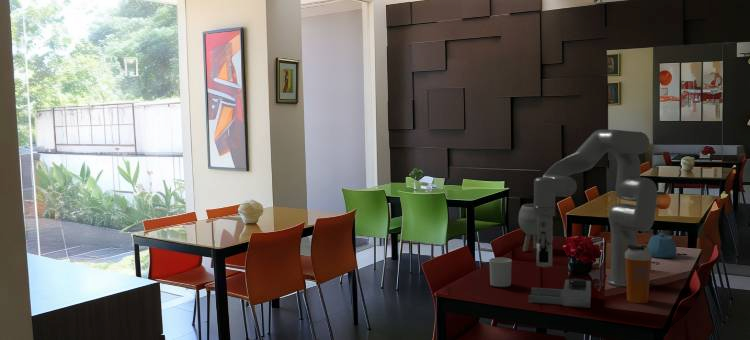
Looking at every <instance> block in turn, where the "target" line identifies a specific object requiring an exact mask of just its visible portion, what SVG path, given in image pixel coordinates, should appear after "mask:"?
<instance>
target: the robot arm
mask: <svg viewBox="0 0 750 340" xmlns="http://www.w3.org/2000/svg"><path fill="white" fill-rule="evenodd" d="M649 147H650V138H649V137H648V135H647V134H646V133H645V132H642V131H635V130H633V131H632V130H631V131H630V130H621V129H597V130H595V131H593V132H592V133H591V135H590V136H588V138H586V140H585V141H584V142H583V143H582V144H581V145H580V146H579V147H578V148H577V150H576V151H575V152H573V153H572V154H570V155H567V156H566V157H564V158H562V159H561V160H558V161H557V162H555V163H554V164H553V165H551V166H550V167H549V168H548V169H547V170H546V172H544V174H543V175H542V176H541V177H535V178H534V180H533V204H534V215H535V216H537V238H538V243H540V251H539V262H545V263H548V243H550V244H551V243H552V244H553V241H554V228H553V227H554V226H553V224H554V223H553V222H554V220H553V217H555V216H556V197H564V198H565V197H571V196H573V195H574V194H575V193H576V191H577V189H578V188H577V187H578V184H577V182H576V180H575V178H572V177H571V176H572V175H575V174H578V173H583V172H586V171H589V170H591V169H592V168H593V167H594V166H596V164H597V163H598V162H599V161H600V160H601V159H602V157H603V156H604V155H605V154H607V153H612V154H613V156H614V157H615V159H616V165H617V169H616V170H617V171H616V180H615V195H616V197H617V198H618V199H620V200H623V201H629V202H635V204H630V203H629V204H628V203H624V202H623V203H622V202H621V203H620V202H619V203H615V204H613V205H612V206H611V207H610V208H609V211H608V222H609V228H610V276H609V277H606V283H607V284H610V285H613V286H617V287H626V288H627V284H626V260H625V252H626V251H627V250H628V247H627V246H628V245H636V246H638V240H637V239H638V238H637V235H636V231H637V232H638V231H639V232H646V231H649V230H651V228H652V227H653V224H654V223H655V216H656V209H657V197H658V187H657V185H656V184H655V182H654V181H653V179H650V178H648V177H641V169H642V167H641V166H642V165H641V160H640V158H639V156H638V155H642V154H644V153H646V152H647V151H648V150H649ZM546 241H547V243H545V242H546Z"/></svg>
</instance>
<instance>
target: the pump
mask: <svg viewBox="0 0 750 340" xmlns="http://www.w3.org/2000/svg"><path fill="white" fill-rule="evenodd" d="M545 243H547V241H546V242H545ZM539 251H540V243H537V247H534V246H533V247H532V250H531V253H535V255H536V256H535V257H536V261H535V262H536V266H537V267H540V268H550V267H553V242H552V243H551V244H550V243H548V263H545V262H539Z"/></svg>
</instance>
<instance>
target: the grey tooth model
mask: <svg viewBox="0 0 750 340" xmlns="http://www.w3.org/2000/svg"><path fill="white" fill-rule="evenodd" d="M517 218H518V225H519V227H520V229H521V230H522V231H523V233H524V234H525V237H524V243H523V246H522V251H523V252H527V251H528V249H529V245H530V242H531V238H532V239H533V240H532V241H533V247H537V243H538V238H537V216H535V215H534V203H525V204H522V205H521V207H520V209H519V212H518V217H517Z"/></svg>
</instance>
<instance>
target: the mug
mask: <svg viewBox="0 0 750 340" xmlns="http://www.w3.org/2000/svg"><path fill="white" fill-rule="evenodd" d="M512 261H513V260H512V259H511V258H507V257H492V258H489V259H488V262H489V263H488V264H489V281H490V285H489V286H491V288H495V289H507V288H510V287H511V286H512V263H513V262H512Z"/></svg>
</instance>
